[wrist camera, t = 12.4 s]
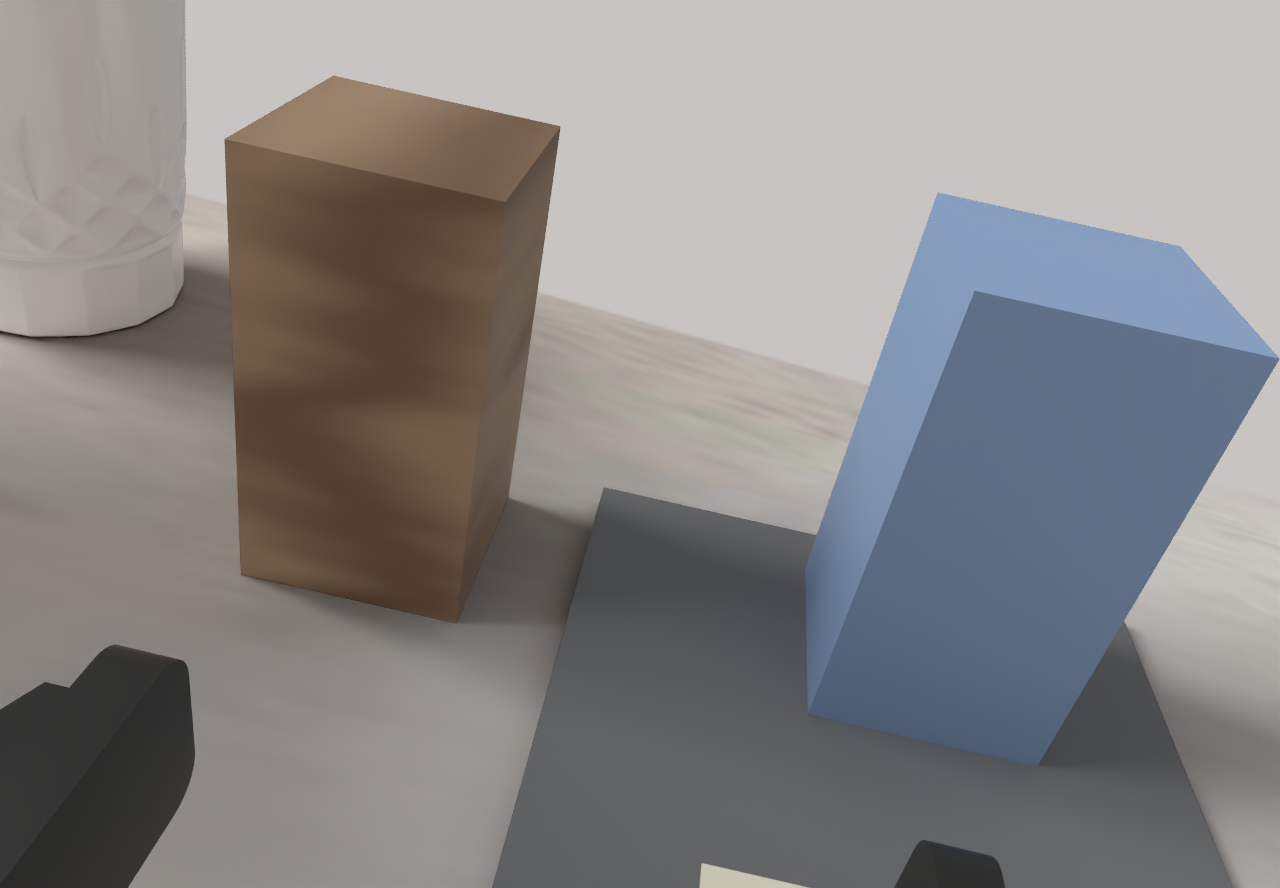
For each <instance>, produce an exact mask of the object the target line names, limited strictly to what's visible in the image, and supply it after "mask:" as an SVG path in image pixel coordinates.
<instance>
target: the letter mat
mask: <svg viewBox="0 0 1280 888" xmlns="http://www.w3.org/2000/svg"><path fill="white" fill-rule="evenodd" d="M815 539H816V535H812V534H808V533H803V532H799V531H794V530H790V529H785V528H781V527H777V526H772V525H768V524H763V523H759V522H754V521H750V520H746V519H741V518H737V517H732V516H728V515H723V514H719V513H715V512H710V511H706V510H701V509H697V508H692V507H688V506H684V505H679V504H675V503H670V502H666V501H662V500H657V499H653V498H648V497H644V496H639V495H635V494H631V493H626V492H622V491H617V490H613V489H608V488H604V489H603V492H602V496H601V499H600V503H599V507H598V510H597V514H596V517H595V521H594V524H593V528H592V532H591V535H590V539H589V542H588V546H587V550H586V553H585V557H584V560H583V564H582V568H581V571H580V575H579V578H578V582H577V585H576V589H575V593H574V596H573V600H572V603H571V607H570V611H569V614H568V618H567V621H566V625H565V628H564V632H563V636H562V639H561V643H560V646H559V650H558V654H557V657H556V661H555V664H554V668H553V672H552V675H551V679H550V682H549V686H548V689H547V693H546V697H545V700H544V704H543V707H542V711H541V715H540V718H539V722H538V725H537V729H536V732H535V736H534V740H533V743H532V747H531V750H530V754H529V758H528V761H527V765H526V768H525V772H524V775H523V779H522V783H521V786H520V790H519V793H518V797H517V801H516V804H515V808H514V811H513V815H512V819H511V822H510V826H509V829H508V833H507V836H506V840H505V844H504V847H503V851H502V854H501V858H500V862H499V865H498V869H497V872H496V876H495V879H494V883H493V887H492V888H894V887H895V885H896V883H897V881H898V879H899V877H900V875H901V873H902V871H903V869H904V868H905V866H906V864H907V862H908V860H909V858H910V856H911V854H912V852H913V850H914V848H915V847H916V845H917V844H918V843H919V842H920V841H922V840H927V841H931V842H936V843H940V844H944V845H948V846H953V847H957V848H961V849H965V850H969V851H974V852H978V853H982V854H986V855H990V856H993V857H994V858H995V859H996V860H997V861H998V863H999V865H1000V868H1001V870H1002V874H1003V879H1004V884H1005V888H1233V887H1232V885H1231V882H1230V880H1229V877H1228V875H1227V872H1226V870H1225V867H1224V865H1223V863H1222V860H1221V858H1220V855H1219V853H1218V850H1217V848H1216V845H1215V843H1214V841H1213V838H1212V836H1211V833H1210V831H1209V828H1208V826H1207V823H1206V821H1205V818H1204V816H1203V814H1202V811H1201V809H1200V806H1199V804H1198V801H1197V799H1196V796H1195V794H1194V791H1193V789H1192V787H1191V784H1190V782H1189V779H1188V777H1187V774H1186V772H1185V769H1184V767H1183V765H1182V762H1181V760H1180V757H1179V755H1178V752H1177V750H1176V747H1175V745H1174V742H1173V740H1172V738H1171V735H1170V733H1169V730H1168V728H1167V725H1166V723H1165V720H1164V718H1163V715H1162V713H1161V711H1160V708H1159V706H1158V703H1157V701H1156V698H1155V696H1154V693H1153V691H1152V689H1151V686H1150V684H1149V681H1148V679H1147V676H1146V674H1145V671H1144V669H1143V666H1142V664H1141V662H1140V659H1139V657H1138V654H1137V652H1136V649H1135V647H1134V644H1133V642H1132V639H1131V637H1130V635H1129V632H1128V630H1127V627H1126V625H1125V622H1124V621H1123V623H1122V625H1121V626H1120V628H1119V630H1118V631H1117V633H1116V635H1115V636H1114V638H1113V640H1112V641H1111V643H1110V645H1109V647H1108V648H1107V650H1106V652H1105V653H1104V655H1103V657H1102V658H1101V660H1100V662H1099V663H1098V665H1097V667H1096V668H1095V670H1094V672H1093V673H1092V675H1091V677H1090V678H1089V680H1088V682H1087V684H1086V685H1085V687H1084V689H1083V690H1082V692H1081V694H1080V695H1079V697H1078V699H1077V700H1076V702H1075V704H1074V705H1073V707H1072V709H1071V710H1070V712H1069V714H1068V715H1067V717H1066V719H1065V721H1064V722H1063V724H1062V726H1061V727H1060V729H1059V731H1058V732H1057V734H1056V736H1055V737H1054V739H1053V741H1052V742H1051V744H1050V746H1049V747H1048V749H1047V751H1046V752H1045V754H1044V756H1043V758H1042V759H1041V761H1040V763H1039V764H1038V766H1032V765H1028V764H1024V763H1019V762H1015V761H1010V760H1006V759H1002V758H997V757H993V756H988V755H984V754H980V753H975V752H971V751H967V750H962V749H958V748H953V747H949V746H945V745H940V744H936V743H931V742H927V741H923V740H918V739H914V738H909V737H905V736H901V735H896V734H892V733H887V732H883V731H879V730H874V729H870V728H865V727H861V726H857V725H852V724H848V723H844V722H839V721H835V720H830V719H826V718H822V717H817V716H813V715H808V701H807V640H806V579H805V567H806V565H807V562H808V559H809V556H810V553H811V550H812V548H813V545H814V542H815Z"/></svg>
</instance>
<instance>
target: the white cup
mask: <svg viewBox="0 0 1280 888" xmlns="http://www.w3.org/2000/svg"><path fill="white" fill-rule="evenodd" d="M185 60H186V56H185V0H0V331H4V332H9V333H14V334H20V335H25V336H58V337H63V336H88V335H94V334H99V333H104V332H109V331H113V330H118V329H122V328H126V327H130V326H135V325H138V324H141V323H143V322H145V321H146V320H148V319H150V318H152V317H154V316H156V315H158V314H159V313H161V312H163V311H165V310H166V309H168V308H170V307H172V306H173V304H174V302H175V300H176V298H177V296H178V294H179V292H180V290H181V288H182V285H183V282H184V264H183V224H182V220H181V219H182V217H183V213H184V206H185V194H186V179H185V170H184V165H185V153H186V61H185Z"/></svg>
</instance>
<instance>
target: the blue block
mask: <svg viewBox="0 0 1280 888" xmlns="http://www.w3.org/2000/svg"><path fill="white" fill-rule="evenodd" d="M1278 361H1279V357H1278V356H1277V355H1276V354H1275V353H1274V352H1273V351H1272V350H1271V349H1270V347H1269V346H1268V345H1267V344H1266V343H1265V342H1264V341H1263V339H1262V338H1261V337H1260V336H1259V335H1258V334H1257V333H1256V332H1255V331H1254V329H1253V328H1252V327H1251V326H1250V325H1249V324H1248V322H1247V321H1246V320H1245V319H1244V318H1243V317H1242V316H1241V315H1240V313H1239V312H1238V311H1237V310H1236V309H1235V308H1234V307H1233V306H1232V305H1231V303H1230V302H1229V301H1228V300H1227V299H1226V298H1225V297H1224V295H1223V294H1222V293H1221V292H1220V291H1219V290H1218V289H1217V288H1216V286H1215V285H1214V284H1213V283H1212V282H1211V281H1210V280H1209V279H1208V277H1207V276H1206V275H1205V274H1204V273H1203V272H1202V271H1201V270H1200V268H1199V267H1197V265H1196V264H1195V263H1194V262H1193V260H1192V259H1191V258H1190V257H1189V256H1188V255H1187V254H1186V253H1185V251H1184V250H1183V249H1182V248H1181V247H1180V246H1175V245H1171V244H1167V243H1162V242H1158V241H1153V240H1148V239H1144V238H1139V237H1135V236H1131V235H1126V234H1122V233H1117V232H1113V231H1108V230H1104V229H1099V228H1095V227H1090V226H1086V225H1081V224H1077V223H1072V222H1067V221H1063V220H1059V219H1054V218H1049V217H1045V216H1041V215H1036V214H1031V213H1027V212H1023V211H1018V210H1014V209H1009V208H1004V207H1000V206H996V205H991V204H986V203H982V202H978V201H973V200H969V199H964V198H960V197H955V196H951V195H946V194H941V193H937V196H936V199H935V202H934V204H933V207H932V210H931V213H930V216H929V219H928V221H927V224H926V227H925V230H924V233H923V235H922V238H921V241H920V244H919V247H918V250H917V253H916V255H915V258H914V261H913V264H912V267H911V270H910V272H909V275H908V278H907V281H906V284H905V287H904V289H903V292H902V295H901V298H900V301H899V304H898V307H897V310H896V312H895V315H894V318H893V321H892V324H891V326H890V329H889V332H888V335H887V338H886V341H885V344H884V346H883V349H882V352H881V355H880V358H879V361H878V363H877V366H876V369H875V372H874V375H873V377H872V380H871V383H870V386H869V389H868V392H867V394H866V397H865V400H864V403H863V406H862V409H861V411H860V414H859V417H858V420H857V423H856V426H855V428H854V431H853V434H852V437H851V440H850V443H849V445H848V448H847V451H846V454H845V457H844V460H843V462H842V465H841V468H840V471H839V474H838V477H837V480H836V482H835V485H834V488H833V491H832V494H831V497H830V499H829V502H828V505H827V508H826V511H825V514H824V516H823V519H822V522H821V525H820V528H819V531H818V533H817V536H816V539H815V542H814V545H813V548H812V550H811V553H810V556H809V559H808V562H807V565H806V567H805V579H806V640H807V701H808V715H813V716H817V717H822V718H826V719H830V720H835V721H839V722H844V723H848V724H852V725H857V726H861V727H865V728H870V729H874V730H879V731H883V732H887V733H892V734H896V735H901V736H905V737H909V738H914V739H918V740H923V741H927V742H931V743H936V744H940V745H945V746H949V747H953V748H958V749H962V750H967V751H971V752H975V753H980V754H984V755H988V756H993V757H997V758H1002V759H1006V760H1010V761H1015V762H1019V763H1024V764H1028V765H1032V766H1038V764H1039V763H1040V761H1041V759H1042V758H1043V756H1044V754H1045V752H1046V751H1047V749H1048V747H1049V746H1050V744H1051V742H1052V741H1053V739H1054V737H1055V736H1056V734H1057V732H1058V731H1059V729H1060V727H1061V726H1062V724H1063V722H1064V721H1065V719H1066V717H1067V715H1068V714H1069V712H1070V710H1071V709H1072V707H1073V705H1074V704H1075V702H1076V700H1077V699H1078V697H1079V695H1080V694H1081V692H1082V690H1083V689H1084V687H1085V685H1086V684H1087V682H1088V680H1089V678H1090V677H1091V675H1092V673H1093V672H1094V670H1095V668H1096V667H1097V665H1098V663H1099V662H1100V660H1101V658H1102V657H1103V655H1104V653H1105V652H1106V650H1107V648H1108V647H1109V645H1110V643H1111V641H1112V640H1113V638H1114V636H1115V635H1116V633H1117V631H1118V630H1119V628H1120V626H1121V625H1122V623H1123V621H1124V620H1125V618H1126V616H1127V615H1128V613H1129V611H1130V610H1131V608H1132V606H1133V604H1134V603H1135V601H1136V599H1137V598H1138V596H1139V594H1140V593H1141V591H1142V589H1143V588H1144V586H1145V584H1146V583H1147V581H1148V579H1149V578H1150V576H1151V574H1152V573H1153V571H1154V569H1155V567H1156V566H1157V564H1158V562H1159V561H1160V559H1161V557H1162V556H1163V554H1164V552H1165V551H1166V549H1167V547H1168V546H1169V544H1170V542H1171V541H1172V539H1173V537H1174V536H1175V534H1176V532H1177V530H1178V529H1179V527H1180V525H1181V524H1182V522H1183V520H1184V519H1185V517H1186V515H1187V514H1188V512H1189V510H1190V509H1191V507H1192V505H1193V504H1194V502H1195V500H1196V499H1197V497H1198V495H1199V493H1200V492H1201V490H1202V488H1203V487H1204V485H1205V483H1206V482H1207V480H1208V478H1209V477H1210V475H1211V473H1212V471H1213V470H1214V468H1215V467H1216V465H1217V463H1218V462H1219V460H1220V458H1221V456H1222V455H1223V453H1224V451H1225V450H1226V448H1227V446H1228V445H1229V443H1230V441H1231V440H1232V438H1233V436H1234V435H1235V433H1236V431H1237V430H1238V428H1239V426H1240V424H1241V423H1242V421H1243V419H1244V418H1245V416H1246V414H1247V413H1248V411H1249V409H1250V408H1251V406H1252V404H1253V403H1254V401H1255V399H1256V398H1257V396H1258V394H1259V392H1260V391H1261V389H1262V387H1263V386H1264V384H1265V382H1266V381H1267V379H1268V377H1269V375H1270V374H1271V372H1272V371H1273V369H1274V367H1275V366H1276V364H1277V362H1278Z"/></svg>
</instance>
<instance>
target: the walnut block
mask: <svg viewBox="0 0 1280 888" xmlns="http://www.w3.org/2000/svg"><path fill="white" fill-rule="evenodd" d="M559 133H560V126H556V125H552V124H547V123H543V122H538V121H533V120H529V119H524V118H520V117H515V116H511V115H506V114H502V113H498V112H493V111H489V110H484V109H480V108H475V107H471V106H466V105H462V104H457V103H453V102H448V101H444V100H439V99H435V98H431V97H426V96H422V95H417V94H413V93H408V92H404V91H399V90H394V89H390V88H386V87H381V86H377V85H372V84H368V83H363V82H359V81H354V80H350V79H345V78H341V77H337V76H332V77H331V78H329V79H327V80H325V81H324V82H322V83H320V84H318V85H317V86H315V87H313V88H312V89H310V90H308V91H307V92H305V93H303V94H301V95H300V96H298V97H296V98H294V99H293V100H291V101H289V102H288V103H286V104H284V105H283V106H281V107H279V108H277V109H276V110H274V111H272V112H270V113H269V114H267V115H265V116H264V117H262V118H260V119H258V120H257V121H255V122H253V123H251V124H250V125H248V126H247V127H245V128H243V129H241V130H239V131H238V132H236V133H234V134H233V135H231V136H229V137H227V138H226V139H225V161H226V189H227V216H228V243H229V269H230V296H231V323H232V350H233V377H234V404H235V430H236V457H237V484H238V511H239V538H240V564H241V574H242V575H246V576H250V577H255V578H259V579H264V580H268V581H272V582H277V583H281V584H286V585H290V586H294V587H299V588H303V589H308V590H312V591H316V592H321V593H325V594H329V595H334V596H338V597H343V598H347V599H351V600H356V601H360V602H365V603H369V604H373V605H378V606H382V607H387V608H391V609H395V610H400V611H404V612H409V613H413V614H417V615H422V616H426V617H431V618H435V619H439V620H444V621H448V622H453V623H457V621H458V618H459V616H460V613H461V611H462V608H463V606H464V604H465V601H466V599H467V596H468V594H469V591H470V589H471V587H472V584H473V582H474V579H475V577H476V574H477V572H478V570H479V567H480V565H481V562H482V560H483V557H484V555H485V553H486V550H487V548H488V545H489V543H490V540H491V538H492V536H493V533H494V531H495V528H496V526H497V523H498V521H499V519H500V516H501V514H502V511H503V509H504V507H505V504H506V502H507V499H508V495H509V488H510V481H511V474H512V467H513V460H514V453H515V445H516V438H517V431H518V424H519V417H520V410H521V403H522V396H523V389H524V382H525V375H526V367H527V360H528V353H529V346H530V339H531V332H532V325H533V318H534V311H535V304H536V297H537V289H538V281H539V275H540V268H541V261H542V254H543V247H544V240H545V232H546V226H547V219H548V211H549V204H550V197H551V190H552V183H553V176H554V169H555V161H556V154H557V147H558V140H559Z"/></svg>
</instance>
